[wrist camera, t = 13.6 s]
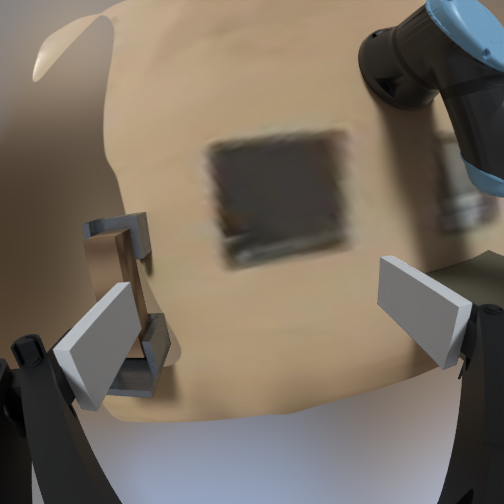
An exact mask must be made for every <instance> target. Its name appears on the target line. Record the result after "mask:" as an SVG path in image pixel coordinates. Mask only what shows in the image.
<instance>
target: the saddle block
mask: <svg viewBox="0 0 504 504" xmlns="http://www.w3.org/2000/svg"><path fill="white" fill-rule="evenodd" d="M82 228H83V233H84V239H85V240H86V239H88V238H90V237H92V236H95V235H97V234H99V233H101V232H107V231H114V230H121V229H128V228H130V232H131V238H132V244H133V250H134V255H135V259H143V258H144V257H145V256H146V255H147V254H149V253H150V252H151V245H150V238H149V232H148V225H147V218H146V212H141V213H134V214H128V215H122V216H115V217H108V218H102V219H96V220H93V221H90V222H87V223H84V224H82Z"/></svg>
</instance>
